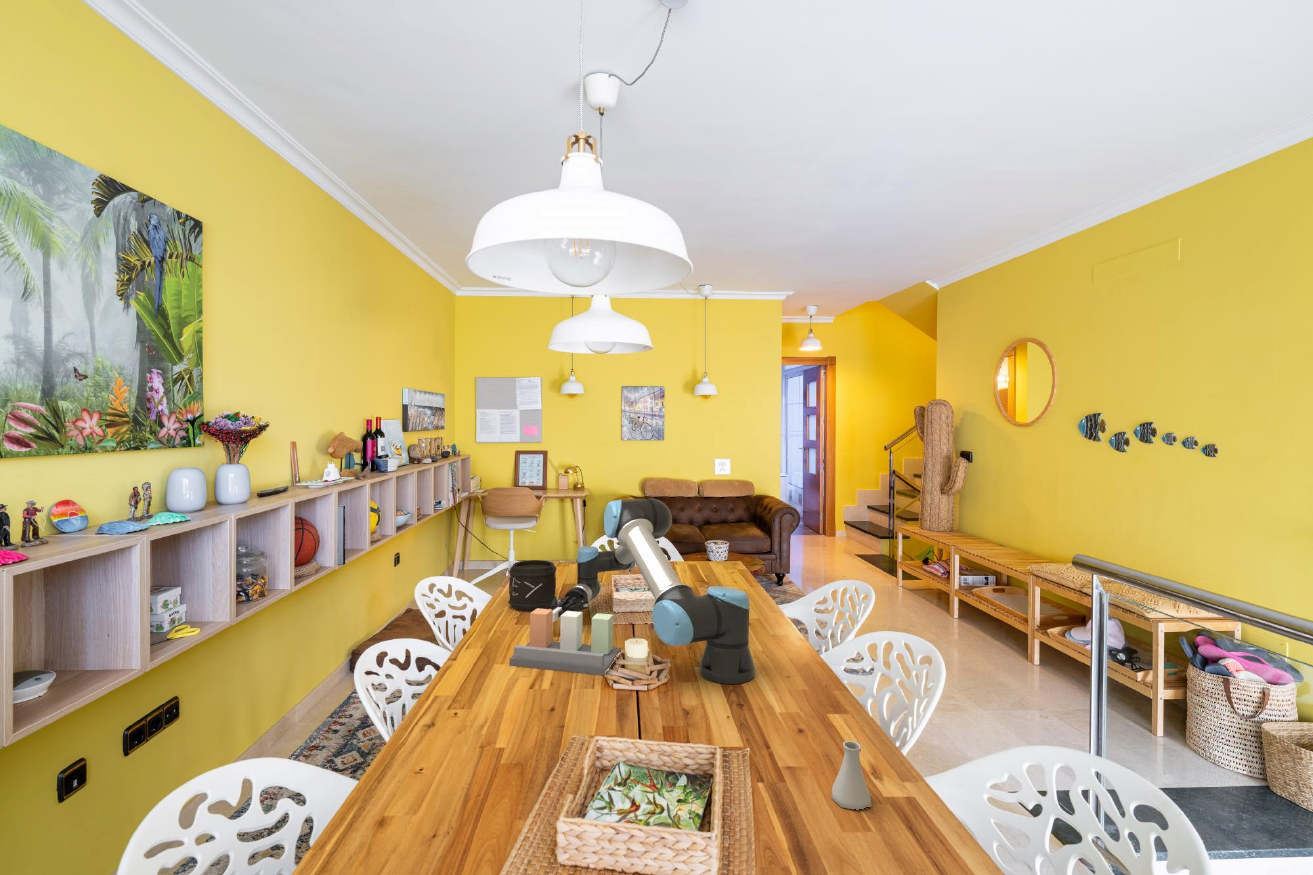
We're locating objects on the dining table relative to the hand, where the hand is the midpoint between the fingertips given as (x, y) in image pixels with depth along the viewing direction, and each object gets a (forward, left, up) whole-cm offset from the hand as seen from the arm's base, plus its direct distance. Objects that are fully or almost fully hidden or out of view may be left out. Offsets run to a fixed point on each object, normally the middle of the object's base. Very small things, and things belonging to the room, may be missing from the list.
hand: (552, 617), depth 189 cm
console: (-10, +12, -8) cm, 17 cm away
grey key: (-10, +9, -6) cm, 14 cm away
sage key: (-19, +9, -6) cm, 22 cm away
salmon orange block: (0, +9, -6) cm, 10 cm away
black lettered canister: (+22, -35, -8) cm, 42 cm away
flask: (-84, +62, -8) cm, 105 cm away
